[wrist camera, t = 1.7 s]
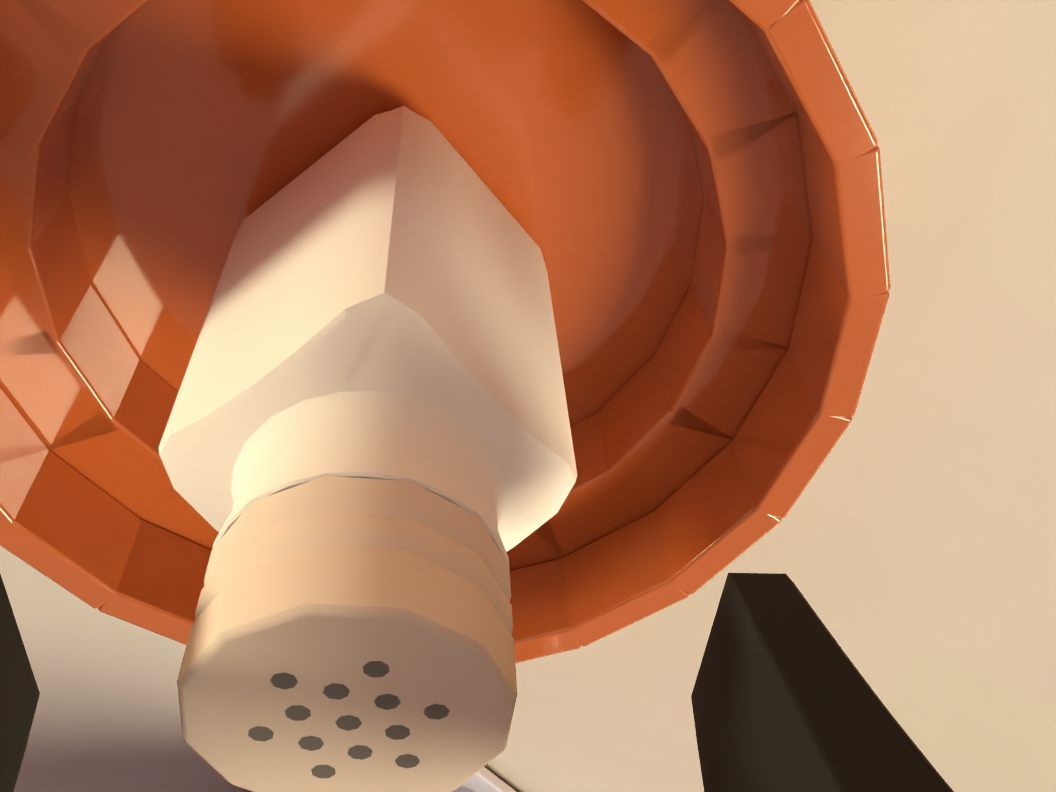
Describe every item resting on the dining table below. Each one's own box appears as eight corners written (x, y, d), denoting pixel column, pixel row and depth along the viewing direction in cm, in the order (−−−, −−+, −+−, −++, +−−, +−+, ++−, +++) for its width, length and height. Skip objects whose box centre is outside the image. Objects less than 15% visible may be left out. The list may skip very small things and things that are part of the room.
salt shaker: (559, 255, 17) (640, 731, 10) (385, 375, 19) (339, 876, 11) (406, 76, 15) (361, 502, 8) (223, 224, 17) (32, 712, 9)
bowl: (347, 613, 23) (330, 769, 20) (-246, 137, 16) (-422, 265, 13) (927, 304, 19) (1023, 439, 16) (493, -548, 12) (509, -620, 8)
